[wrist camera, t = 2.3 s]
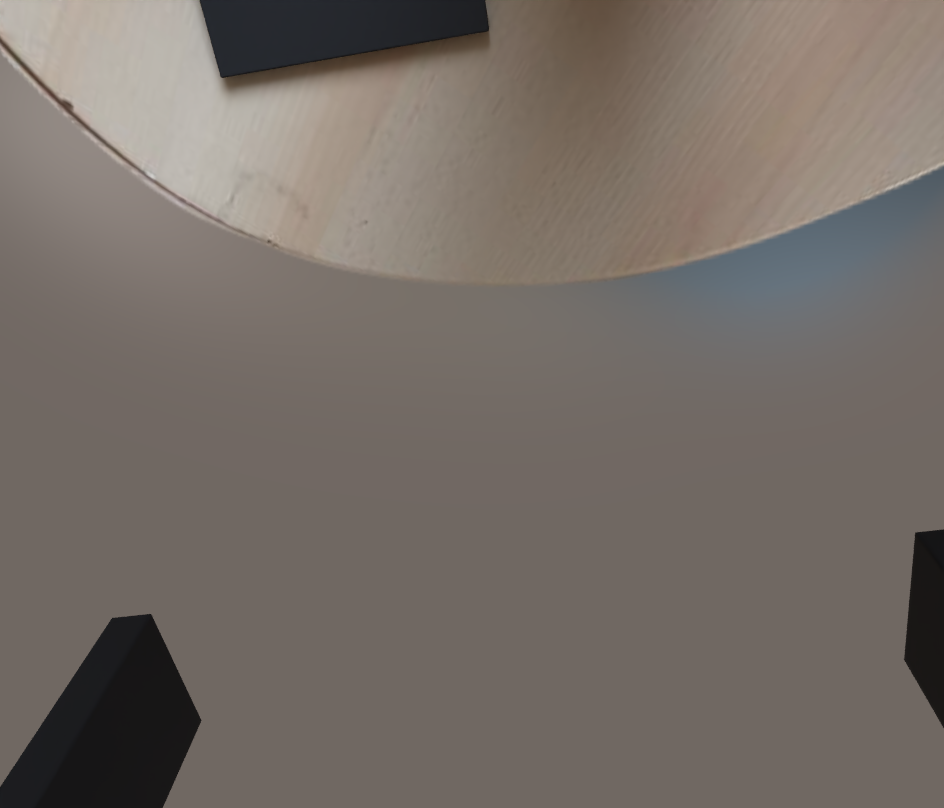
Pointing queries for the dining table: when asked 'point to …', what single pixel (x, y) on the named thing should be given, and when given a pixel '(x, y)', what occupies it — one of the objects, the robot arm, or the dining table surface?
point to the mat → (328, 28)
